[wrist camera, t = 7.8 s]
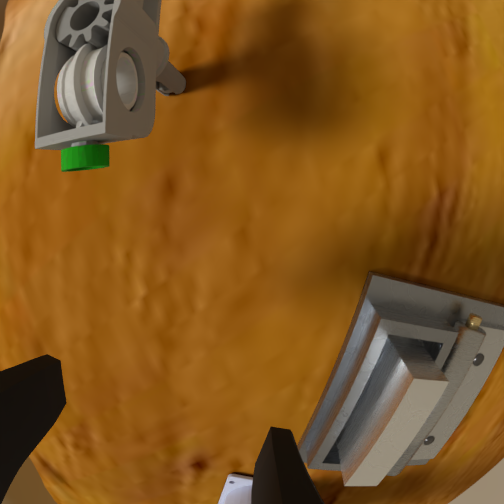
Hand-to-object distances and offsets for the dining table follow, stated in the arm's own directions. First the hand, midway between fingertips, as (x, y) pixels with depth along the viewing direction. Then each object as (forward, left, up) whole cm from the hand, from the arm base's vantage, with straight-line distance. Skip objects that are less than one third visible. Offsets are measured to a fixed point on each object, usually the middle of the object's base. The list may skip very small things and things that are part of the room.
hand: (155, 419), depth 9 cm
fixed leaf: (-4, -15, -10) cm, 19 cm away
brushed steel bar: (-4, -12, -10) cm, 16 cm away
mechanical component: (+12, +5, -11) cm, 17 cm away
